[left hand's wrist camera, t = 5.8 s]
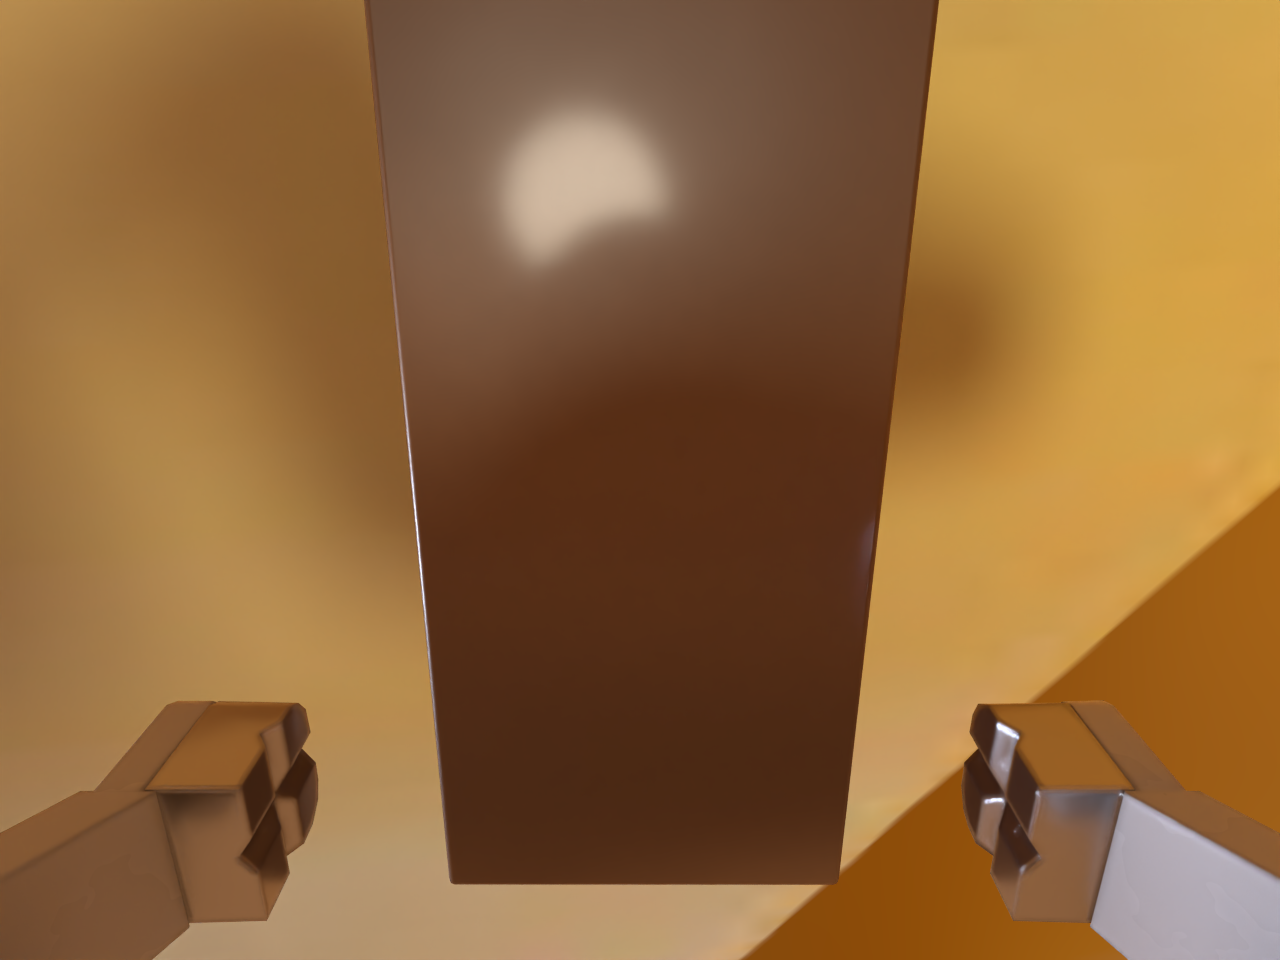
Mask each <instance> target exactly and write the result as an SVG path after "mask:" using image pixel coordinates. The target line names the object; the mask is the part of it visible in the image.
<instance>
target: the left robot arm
mask: <svg viewBox="0 0 1280 960" xmlns="http://www.w3.org/2000/svg"><path fill="white" fill-rule="evenodd" d="M309 734H310V727H309V723H308V718H307V713H306V709H305V708H304V707H303V706H301V705H300V704H299V703H280V702H234V701H218V702H214V701H177V702H174V703H171V704H168V705H167V706H166V707H165V708H164V709H163V710H162V711H161V712H160V714H159V715H158V716H157V717H156V718H155V719H154V721H153V722H152V723H151V724H150V725H149V727H148V728H147V729H146V730H145V731H144V732H143V734H142V735H141V736H140V737H139V738H138V740H137V741H136V742H135V743H134V744H133V745H132V747H131V748H130V749H129V750H128V751H127V753H126V754H125V755H124V756H123V757H122V758H121V760H120V761H119V762H118V763H117V764H116V766H115V767H114V768H113V769H112V770H111V771H110V773H109V774H108V775H107V776H106V777H105V779H104V780H103V781H102V782H101V783H100V784H99V786H98V787H97V788H96V789H95V790H94V791H80V792H78V793H76V794H74V795H72V796H70V797H68V798H66V799H65V800H63V801H61V802H59V803H57V804H55V805H53V806H51V807H49V808H47V809H45V810H44V811H42V812H40V813H38V814H36V815H34V816H32V817H30V818H28V819H26V820H24V821H23V822H21V823H19V824H17V825H15V826H13V827H11V828H9V829H7V830H5V831H3V832H2V833H0V960H152V959H153V958H154V957H156V956H157V955H158V954H159V953H160V952H161V951H162V950H164V949H165V948H166V947H167V946H168V945H169V944H171V943H172V942H173V941H174V940H175V939H176V938H178V937H179V936H180V935H181V934H182V933H183V932H185V931H186V930H187V929H188V928H189V926H190V925H189V923H202V922H236V921H267V919H268V917H269V915H270V913H271V911H272V909H273V907H274V905H275V903H276V900H277V898H278V896H279V894H280V892H281V890H282V888H283V886H284V884H285V882H286V880H287V878H288V876H289V874H290V872H289V866H288V861H287V855H288V854H290V853H291V852H293V851H294V850H295V849H297V848H298V847H299V846H301V845H302V844H304V842H305V840H306V838H307V835H308V833H309V831H310V829H311V827H312V824H313V820H314V816H315V811H316V806H317V802H318V775H317V768H316V762H315V761H314V760H313V759H312V758H311V757H310V756H309V755H308V754H307V753H306V752H305V751H304V750H303V749H302V747H303V745H304V743H305V741H306V739H307V738H308V736H309ZM970 734H971V736H972V738H973V739H974V741H975V743H976V745H977V747H978V749H977V750H976V751H975V752H974V753H973V754H972V755H971V756H970V757H969V758H968V759H967V760H966V761H965V762H964V770H963V778H962V785H961V786H962V798H963V809H964V813H965V816H966V820H967V823H968V827H969V829H970V831H971V833H972V836H973V838H974V840H975V842H976V843H977V844H978V845H979V846H981V847H982V848H983V849H985V850H986V851H987V852H989V853H990V854H992V855H993V861H992V866H991V872H990V874H991V876H992V878H993V880H994V882H995V884H996V886H997V888H998V890H999V892H1000V894H1001V896H1002V898H1003V900H1004V902H1005V904H1006V906H1007V909H1008V910H1009V913H1010V915H1011V917H1012V919H1013V921H1042V922H1078V923H1091V925H1090V927H1091V928H1092V929H1094V930H1095V931H1096V932H1097V933H1098V934H1099V935H1101V936H1102V937H1103V938H1104V939H1105V940H1106V941H1108V942H1109V943H1110V944H1111V945H1112V946H1113V947H1114V948H1116V949H1117V950H1118V951H1119V952H1120V953H1121V954H1123V955H1124V956H1125V957H1126V958H1127V959H1128V960H1280V833H1278V832H1276V831H1274V830H1273V829H1271V828H1269V827H1267V826H1265V825H1263V824H1261V823H1259V822H1257V821H1255V820H1254V819H1252V818H1250V817H1248V816H1246V815H1244V814H1242V813H1240V812H1238V811H1236V810H1234V809H1233V808H1231V807H1229V806H1227V805H1225V804H1223V803H1221V802H1219V801H1217V800H1215V799H1214V798H1212V797H1210V796H1208V795H1206V794H1204V793H1202V792H1200V791H1186V790H1185V789H1184V788H1183V787H1182V786H1181V785H1180V783H1179V782H1178V781H1177V780H1176V779H1175V777H1174V776H1173V775H1172V774H1171V773H1170V771H1169V770H1168V769H1167V768H1166V767H1165V766H1164V764H1163V763H1162V762H1161V761H1160V760H1159V758H1158V757H1157V756H1156V755H1155V754H1154V753H1153V751H1152V750H1151V749H1150V748H1149V747H1148V746H1147V744H1146V743H1145V742H1144V741H1143V740H1142V738H1141V737H1140V736H1139V735H1138V734H1137V733H1136V731H1135V730H1134V729H1133V728H1132V727H1131V725H1130V724H1129V723H1128V722H1127V721H1126V720H1125V718H1124V717H1123V716H1122V715H1121V714H1120V712H1119V711H1118V710H1117V709H1116V708H1115V707H1114V706H1113V705H1111V704H1109V703H1107V702H1105V701H1073V702H1061V703H1010V704H978V705H977V707H976V709H975V711H974V713H973V716H972V721H971V727H970Z"/></svg>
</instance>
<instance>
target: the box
mask: <svg viewBox="0 0 1280 960" xmlns="http://www.w3.org/2000/svg"><path fill="white" fill-rule="evenodd" d="M364 5H365V16H366V26H367V36H368V47H369V57H370V67H371V77H372V88H373V98H374V108H375V118H376V129H377V139H378V149H379V160H380V170H381V180H382V190H383V201H384V211H385V221H386V231H387V242H388V252H389V262H390V273H391V283H392V293H393V303H394V314H395V324H396V334H397V344H398V355H399V365H400V375H401V386H402V396H403V406H404V416H405V427H406V437H407V447H408V457H409V468H410V478H411V488H412V499H413V509H414V519H415V529H416V540H417V550H418V560H419V570H420V581H421V591H422V601H423V612H424V622H425V632H426V642H427V653H428V663H429V673H430V683H431V694H432V704H433V714H434V725H435V735H436V745H437V755H438V766H439V776H440V786H441V796H442V807H443V817H444V827H445V838H446V848H447V858H448V868H449V878H450V881H451V883H453V884H802V885H831V884H832V885H833V884H836V883H837V882H838V879H839V871H840V862H841V853H842V845H843V836H844V827H845V818H846V810H847V801H848V792H849V783H850V775H851V766H852V757H853V748H854V740H855V731H856V722H857V713H858V705H859V696H860V687H861V678H862V670H863V661H864V652H865V643H866V635H867V626H868V617H869V608H870V600H871V591H872V582H873V573H874V565H875V556H876V547H877V538H878V530H879V521H880V512H881V503H882V495H883V486H884V477H885V468H886V460H887V451H888V442H889V433H890V425H891V416H892V407H893V398H894V390H895V381H896V372H897V363H898V355H899V346H900V337H901V329H902V320H903V311H904V302H905V294H906V285H907V276H908V267H909V259H910V250H911V241H912V232H913V224H914V215H915V206H916V197H917V189H918V180H919V171H920V162H921V154H922V145H923V136H924V127H925V119H926V110H927V101H928V92H929V84H930V75H931V66H932V57H933V49H934V40H935V31H936V22H937V14H938V5H939V0H364Z"/></svg>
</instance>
